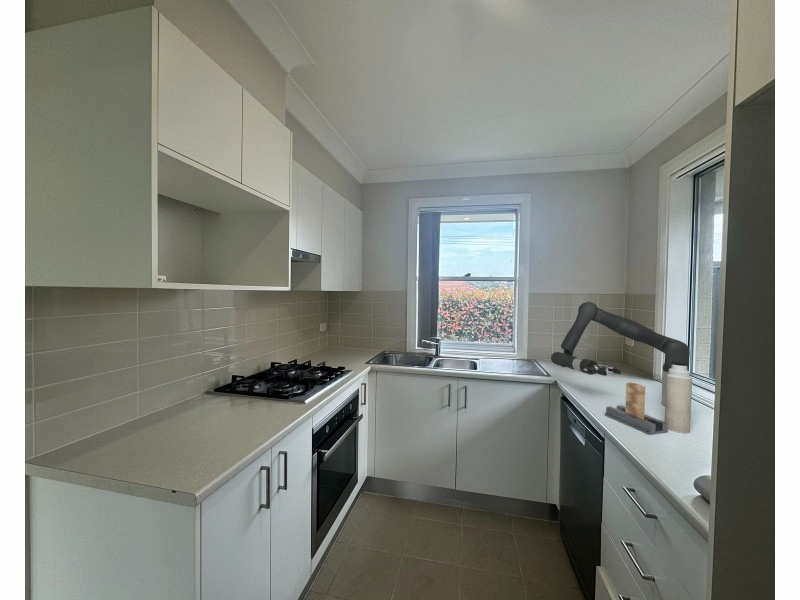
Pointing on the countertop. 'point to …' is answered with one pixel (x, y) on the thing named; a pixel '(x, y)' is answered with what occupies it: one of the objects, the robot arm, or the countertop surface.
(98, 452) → the countertop surface
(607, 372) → the robot arm
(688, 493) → the countertop surface
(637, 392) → the door slat
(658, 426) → the rail
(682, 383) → the thermos bottle
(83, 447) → the countertop surface
